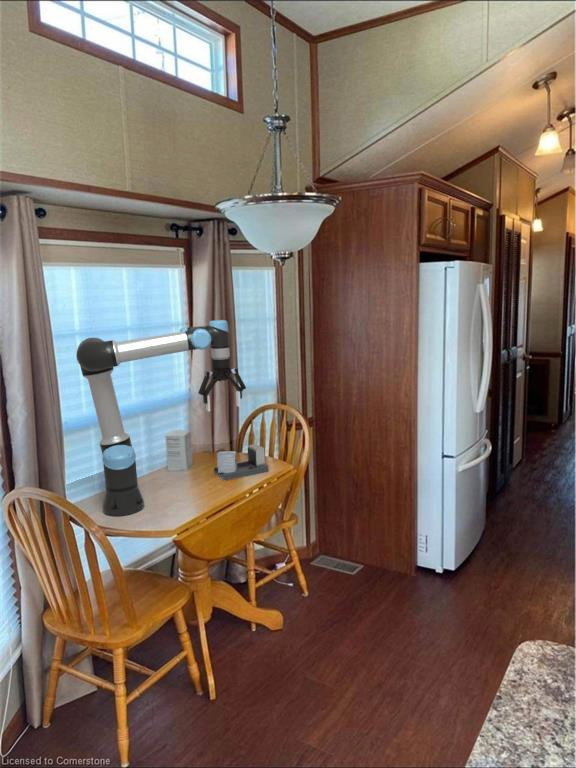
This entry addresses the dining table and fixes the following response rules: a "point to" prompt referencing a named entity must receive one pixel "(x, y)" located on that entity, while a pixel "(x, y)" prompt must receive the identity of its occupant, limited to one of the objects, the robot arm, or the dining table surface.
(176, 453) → the supplement box
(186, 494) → the dining table surface
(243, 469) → the grey tray stand
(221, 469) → the medicine box
